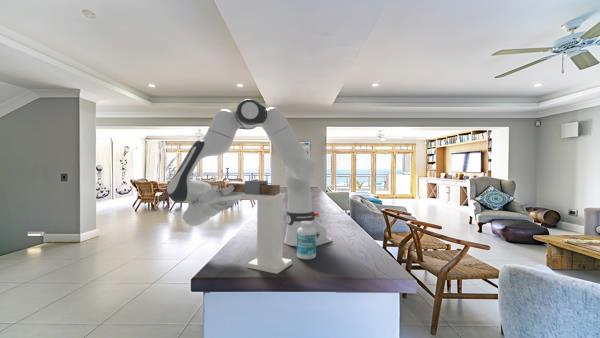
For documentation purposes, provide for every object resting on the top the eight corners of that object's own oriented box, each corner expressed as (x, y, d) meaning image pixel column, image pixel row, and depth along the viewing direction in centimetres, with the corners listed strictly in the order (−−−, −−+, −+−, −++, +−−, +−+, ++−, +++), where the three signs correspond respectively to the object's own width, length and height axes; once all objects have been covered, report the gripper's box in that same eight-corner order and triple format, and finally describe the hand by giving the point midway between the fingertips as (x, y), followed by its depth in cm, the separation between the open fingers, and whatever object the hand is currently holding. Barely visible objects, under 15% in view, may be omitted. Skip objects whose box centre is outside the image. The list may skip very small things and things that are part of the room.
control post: (240, 265, 95) (240, 181, 94) (257, 257, 104) (257, 179, 103) (277, 273, 88) (277, 182, 88) (291, 263, 97) (292, 181, 97)
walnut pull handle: (229, 191, 101) (229, 183, 101) (235, 190, 104) (235, 183, 104) (275, 194, 92) (275, 185, 92) (279, 193, 95) (279, 185, 95)
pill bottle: (295, 259, 101) (295, 223, 101) (298, 253, 109) (298, 219, 109) (315, 260, 100) (315, 224, 100) (316, 254, 108) (317, 220, 108)
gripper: (189, 198, 98) (214, 180, 93) (228, 193, 117) (251, 177, 111) (196, 214, 97) (221, 196, 91) (234, 206, 115) (257, 191, 110)
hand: (238, 186), depth 101 cm, fingers closed on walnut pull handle, 3 cm apart
